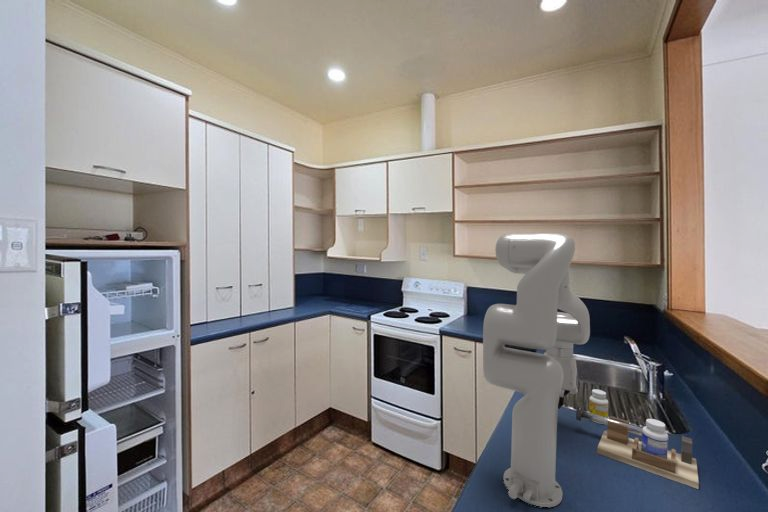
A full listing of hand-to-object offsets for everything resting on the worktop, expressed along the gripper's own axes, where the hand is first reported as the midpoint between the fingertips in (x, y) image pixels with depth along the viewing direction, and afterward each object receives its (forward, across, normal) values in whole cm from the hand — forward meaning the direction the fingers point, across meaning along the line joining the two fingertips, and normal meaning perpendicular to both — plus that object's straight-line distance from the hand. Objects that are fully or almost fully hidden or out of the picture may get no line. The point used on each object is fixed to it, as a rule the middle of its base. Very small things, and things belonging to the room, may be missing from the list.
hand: (557, 406), depth 108 cm
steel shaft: (+2, +14, 0) cm, 14 cm away
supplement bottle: (+6, +10, +12) cm, 16 cm away
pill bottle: (+4, +25, -6) cm, 26 cm away
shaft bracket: (+5, +23, -4) cm, 24 cm away
